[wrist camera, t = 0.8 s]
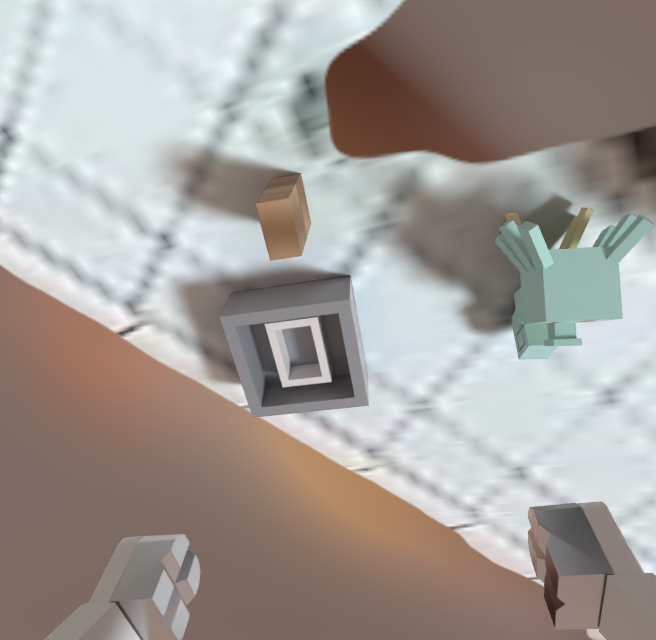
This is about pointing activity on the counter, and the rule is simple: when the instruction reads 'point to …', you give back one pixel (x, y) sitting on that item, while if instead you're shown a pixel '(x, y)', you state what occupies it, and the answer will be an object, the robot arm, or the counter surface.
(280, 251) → the tan wooden brick
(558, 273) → the toy
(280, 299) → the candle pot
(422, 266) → the counter surface
